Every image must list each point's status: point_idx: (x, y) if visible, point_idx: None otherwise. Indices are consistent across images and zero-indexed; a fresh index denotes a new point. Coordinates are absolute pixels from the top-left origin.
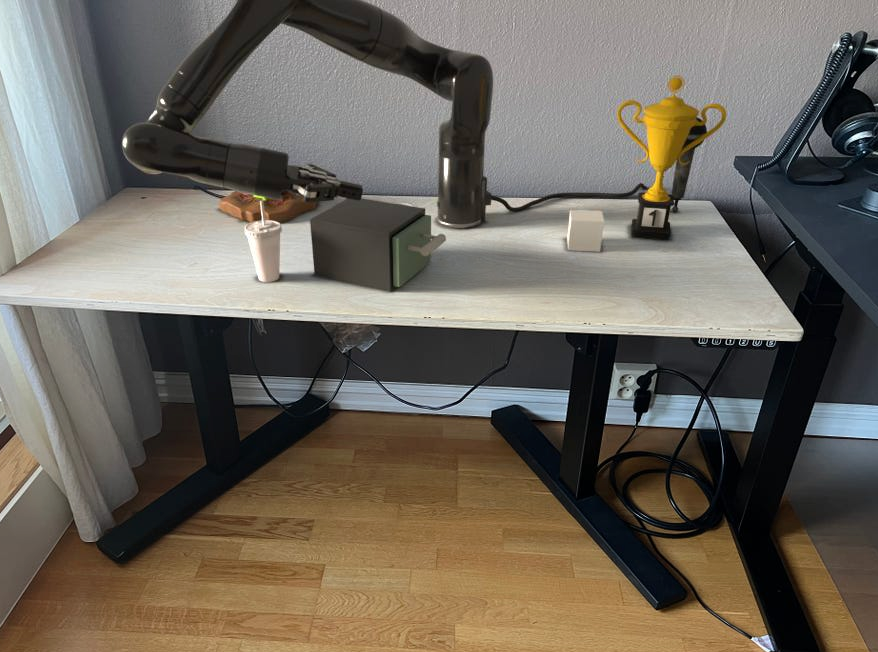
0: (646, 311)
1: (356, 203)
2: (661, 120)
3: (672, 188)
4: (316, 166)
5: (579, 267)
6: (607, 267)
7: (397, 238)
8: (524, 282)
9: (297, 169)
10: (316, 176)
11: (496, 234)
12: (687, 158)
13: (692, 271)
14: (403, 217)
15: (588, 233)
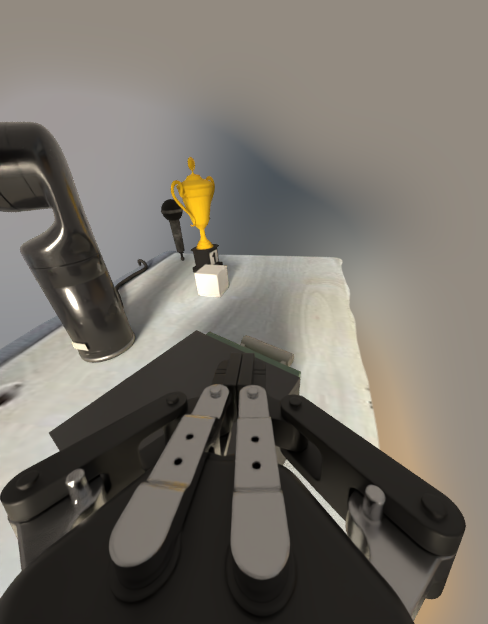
0: (325, 284)
1: (105, 422)
2: (205, 188)
3: (177, 247)
4: (61, 453)
5: (252, 297)
6: (256, 287)
7: (299, 373)
8: (276, 323)
9: (97, 605)
10: (275, 452)
11: (163, 326)
12: (179, 225)
13: (268, 266)
14: (226, 354)
15: (223, 278)
